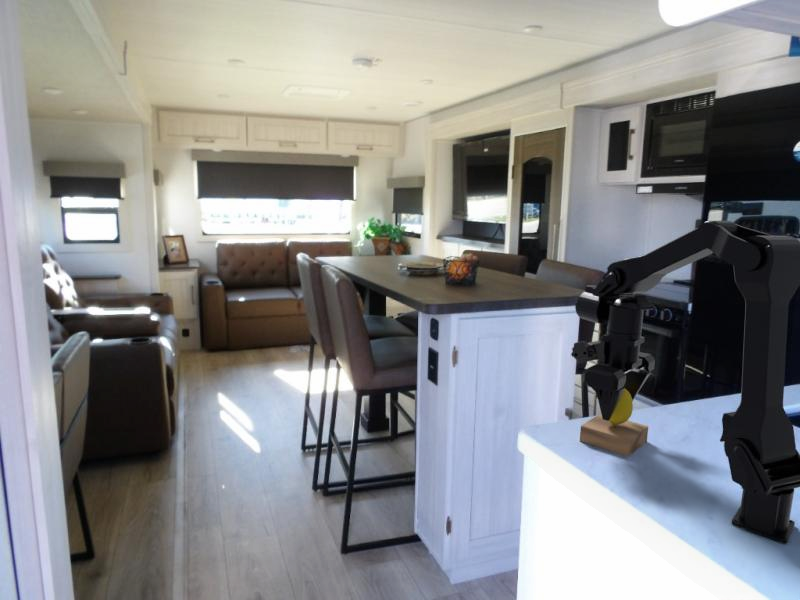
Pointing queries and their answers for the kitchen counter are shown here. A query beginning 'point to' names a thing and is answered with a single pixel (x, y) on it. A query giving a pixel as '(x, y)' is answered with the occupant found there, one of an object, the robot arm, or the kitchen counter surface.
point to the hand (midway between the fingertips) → (616, 413)
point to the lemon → (622, 409)
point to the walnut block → (614, 435)
